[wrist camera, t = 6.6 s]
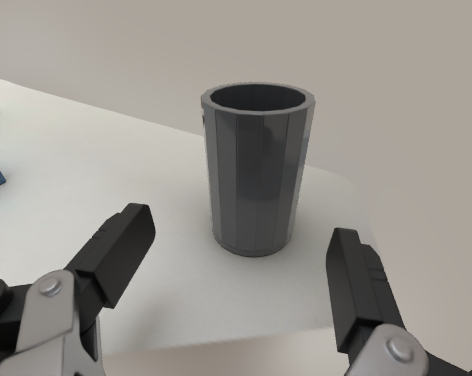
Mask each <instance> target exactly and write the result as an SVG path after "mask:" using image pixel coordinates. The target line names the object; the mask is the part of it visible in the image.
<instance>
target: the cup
mask: <svg viewBox="0 0 472 376" xmlns="http://www.w3.org/2000/svg"><path fill="white" fill-rule="evenodd" d="M201 105H202V117H203V128H204V129H203V130H204V141H205V153H206V165H207V177H208V188H209V200H210V212H211V222H212V229H213V234H214V236H215V238H216V240H217V241H218V242H219V243H220V245H221V246H223V247H224V248H225V249H227V250H229V251H230V252H233V253H235V254H238V255H242V256H248V257H259V256H265V255H269V254H272V253H274V252H276V251H278V250H280V249H281V248H282V247H284V246H285V245H286V243H287V242H288V241H289V239H290V236H291V232H292V230H293V225H294V219H295V214H296V208H297V203H298V197H299V191H300V186H301V180H302V175H303V169H304V164H305V158H306V153H307V147H308V142H309V136H310V130H311V125H312V119H313V114H314V108H315V98H314V95H312V94H311V93H309V92H308V91H306V90H304V89H301V88H297V87H294V86H290V85H285V84H277V83H265V82H248V83H247V82H245V83H233V84H227V85H222V86H218V87H215V88H212V89H209V90H207V91H206V92H205V93H204V94H203V95H202V96H201Z"/></svg>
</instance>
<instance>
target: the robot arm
mask: <svg viewBox="0 0 472 376" xmlns="http://www.w3.org/2000/svg"><path fill="white" fill-rule="evenodd" d="M155 233H156V231H155V226H154V222H153V218H152V215H151V211H150V208H149V206H148V205H145V204H137V203H129V204H128V205H127V206H126V207H125V208H124V210H123V211H122V212H121V213H116V214H115V215H113V216H112V217H110V218H109V219H107V220H106V221H105V222H104V223H103V225H102V226H101V227H100V228H99V230H98V231H96V233H95V234H94V235H93V236H92V239H89V241H88V242H87V243H86V244H85V245H84V246H83V247H82V249H81V250H80V251H79V252H78V253H77V254H76V255H75V257H74V258H73V259H72V260H71V261H70V262H69V263H68V265H67V266H66V267H65V268H64V269H63V270H56V271H52V272H50V273H47V274H45V275H44V276H42V277H40V278H39V279H38V280H37V281H35V282H34V283H33V284H27V285H20V286H13V287H9V286H8V285H7V284H6V283H5V282H4V281H3V280H2V279H0V376H106V375H105V372H104V369H103V363H102V349H101V333H100V318H99V315H98V314H99V312H100V311H101V309H102V308H103V307H105V308H111V309H114V308H115V306H116V304H117V303H118V301H119V299H120V297H121V296H122V294H123V292H124V291H125V289H126V287H127V286H128V284H129V282H130V281H131V279H132V277H133V275H134V274H135V272H136V270H137V269H138V267H139V265H140V264H141V262H142V260H143V259H144V257H145V255H146V253H147V252H148V250H149V248H150V247H151V245H152V243H153V241H154V239H155ZM326 271H327V278H328V286H329V293H330V300H331V307H332V315H333V322H334V329H335V337H336V344H337V351H338V352H340V353H345V354H348V358H349V364H350V366H349V368H348V370H347V371H346V373H345V374H344V376H472V370H471V371H469V372H467V371H465V370H463V369H461V368H459V367H457V366H454V365H452V364H450V363H448V362H446V361H444V360H442V359H440V358H437V357H436V356H434V355H432V354H430V353H429V352H427V351H426V350H424V348H423V347H422V345H421V344H420V343H419V341H418V340H417V339H416V338H415V337H414V336H413V335H412V334H410V333H409V332H408V331H407V330H406V328H405V326H404V324H403V321H402V318H401V315H400V313H399V310H398V307H397V305H396V301H395V299H394V296H393V294H392V290H391V288H390V285H389V282H387V280H388V279H387V276H386V274H385V272H384V268H383V265H382V263H381V260H380V257H379V256H378V254H377V253H376V252H375V251H374V250H373V248H372V247H371V246H370V245H365V244H361V242H360V239H359V236H358V233H357V231H356V230H353V229H344V228H335V229H334V232H333V235H332V238H331V241H330V244H329V247H328V251H327V254H326Z"/></svg>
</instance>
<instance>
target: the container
mask: <svg viewBox="0 0 472 376" xmlns="http://www.w3.org/2000/svg"><path fill="white" fill-rule="evenodd" d="M5 181H6V179H5V178H4V176H3V175H2V173H1V172H0V184H2V183H4V182H5Z"/></svg>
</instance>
